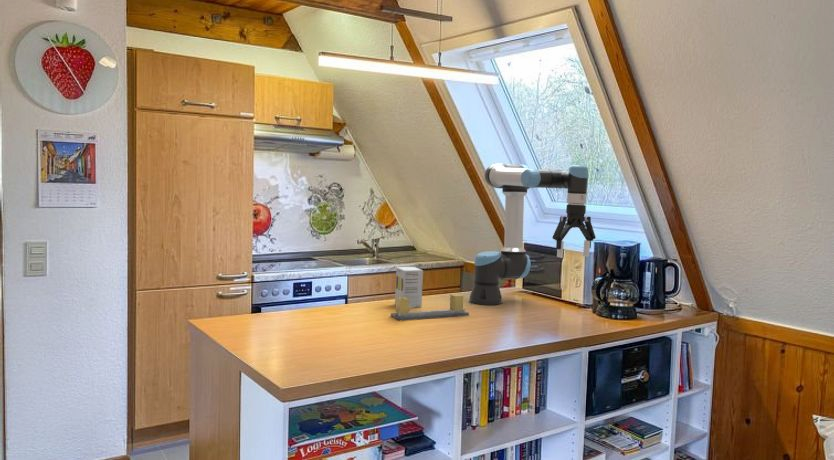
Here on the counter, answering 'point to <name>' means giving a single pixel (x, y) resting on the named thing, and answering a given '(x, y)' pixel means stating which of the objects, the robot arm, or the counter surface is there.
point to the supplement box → (409, 285)
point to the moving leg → (402, 305)
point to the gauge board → (437, 311)
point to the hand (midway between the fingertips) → (573, 257)
